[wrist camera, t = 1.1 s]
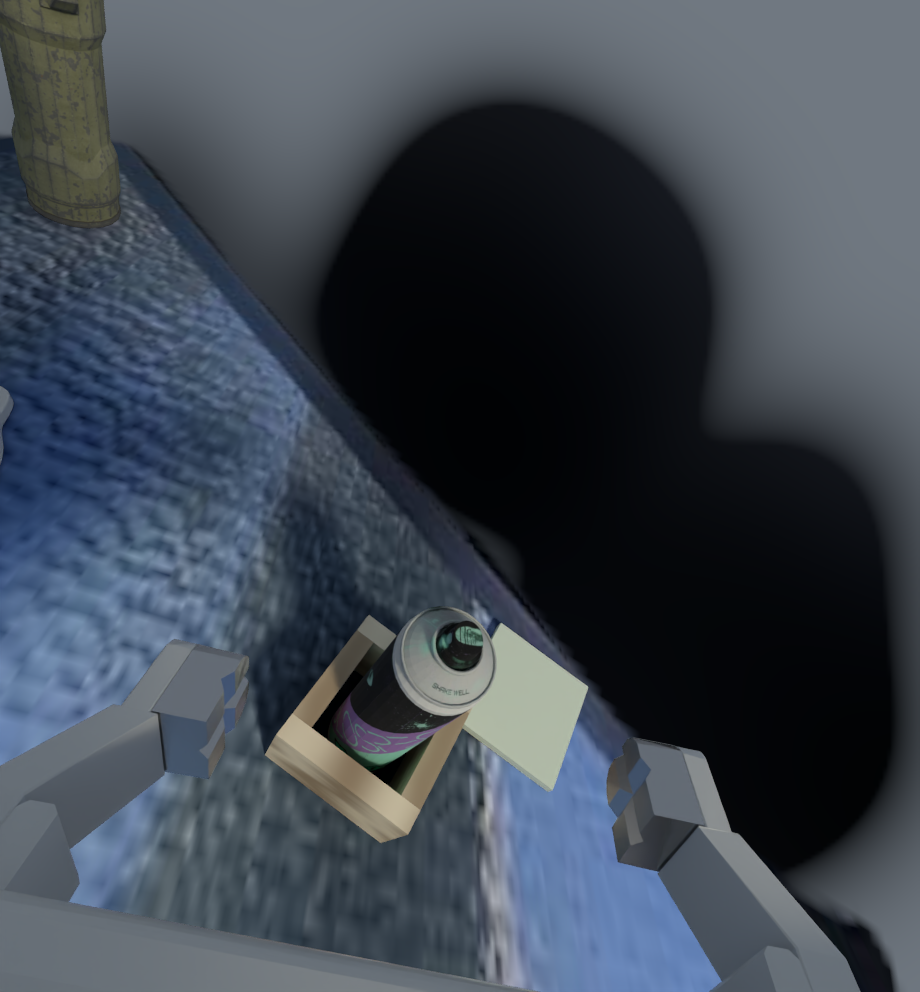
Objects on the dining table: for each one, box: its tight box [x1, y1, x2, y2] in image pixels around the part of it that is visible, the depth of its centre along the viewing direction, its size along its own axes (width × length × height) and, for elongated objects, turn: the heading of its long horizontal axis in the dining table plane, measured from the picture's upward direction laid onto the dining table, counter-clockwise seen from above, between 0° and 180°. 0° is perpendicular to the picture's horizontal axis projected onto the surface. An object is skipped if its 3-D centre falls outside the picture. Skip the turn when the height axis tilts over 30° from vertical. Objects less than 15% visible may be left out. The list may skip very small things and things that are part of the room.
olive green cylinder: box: [0, 0, 121, 228], centre depth 47 cm, size 9×12×35 cm
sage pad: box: [462, 623, 588, 792], centre depth 46 cm, size 10×10×1 cm
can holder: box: [265, 615, 472, 843], centre depth 38 cm, size 10×10×6 cm
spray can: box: [328, 606, 497, 773], centre depth 33 cm, size 6×6×20 cm
